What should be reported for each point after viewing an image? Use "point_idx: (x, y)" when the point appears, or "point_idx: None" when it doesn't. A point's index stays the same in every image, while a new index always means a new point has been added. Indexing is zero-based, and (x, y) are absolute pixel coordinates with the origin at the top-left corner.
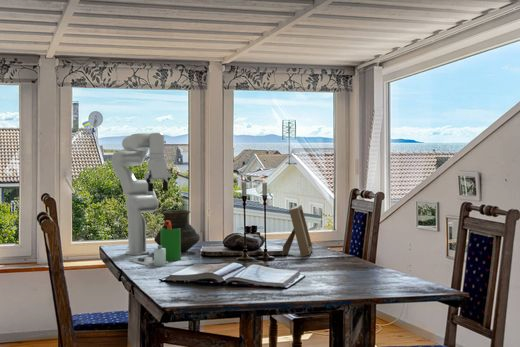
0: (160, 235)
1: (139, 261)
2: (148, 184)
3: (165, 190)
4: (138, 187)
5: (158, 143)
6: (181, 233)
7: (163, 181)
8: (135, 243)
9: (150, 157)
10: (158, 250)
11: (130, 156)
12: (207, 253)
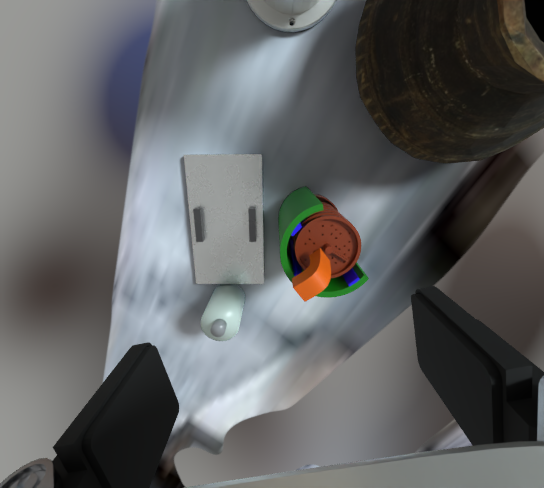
0: (283, 226)
1: (191, 231)
2: (62, 469)
3: (421, 335)
4: None
5: None
6: (451, 139)
7: (535, 425)
8: None
9: None
10: (208, 334)
11: None
12: (488, 181)
